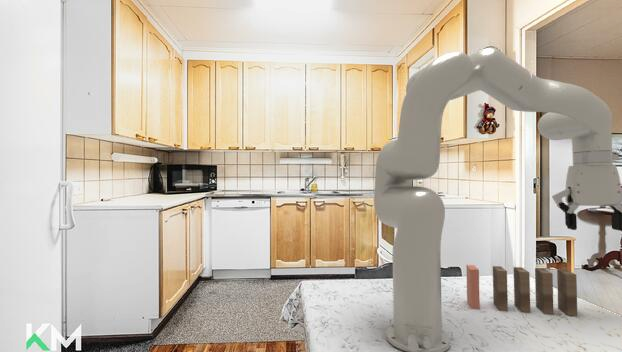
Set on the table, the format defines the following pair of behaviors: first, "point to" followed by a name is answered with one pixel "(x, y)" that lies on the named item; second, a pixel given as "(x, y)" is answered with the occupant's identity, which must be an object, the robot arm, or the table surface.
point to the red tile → (473, 286)
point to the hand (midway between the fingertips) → (594, 229)
